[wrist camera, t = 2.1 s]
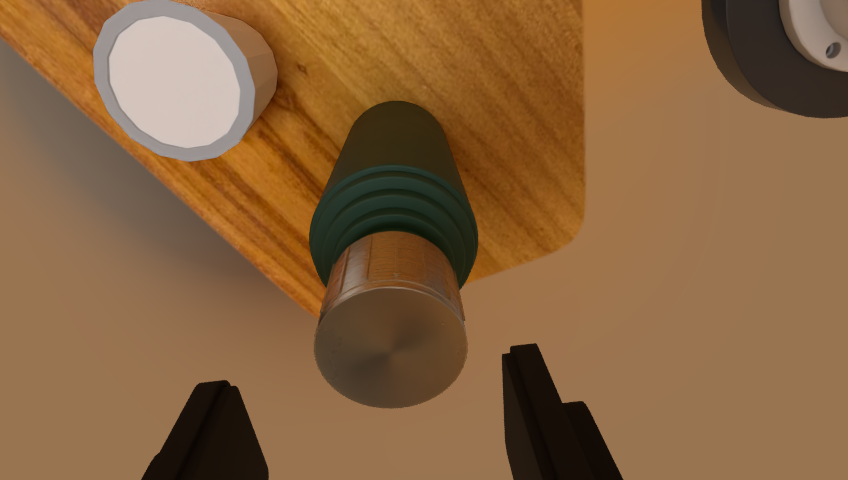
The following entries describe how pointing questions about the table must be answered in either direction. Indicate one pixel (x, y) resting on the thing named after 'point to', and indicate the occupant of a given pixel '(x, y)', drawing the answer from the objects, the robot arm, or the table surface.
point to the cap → (391, 322)
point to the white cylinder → (183, 77)
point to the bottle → (395, 189)
